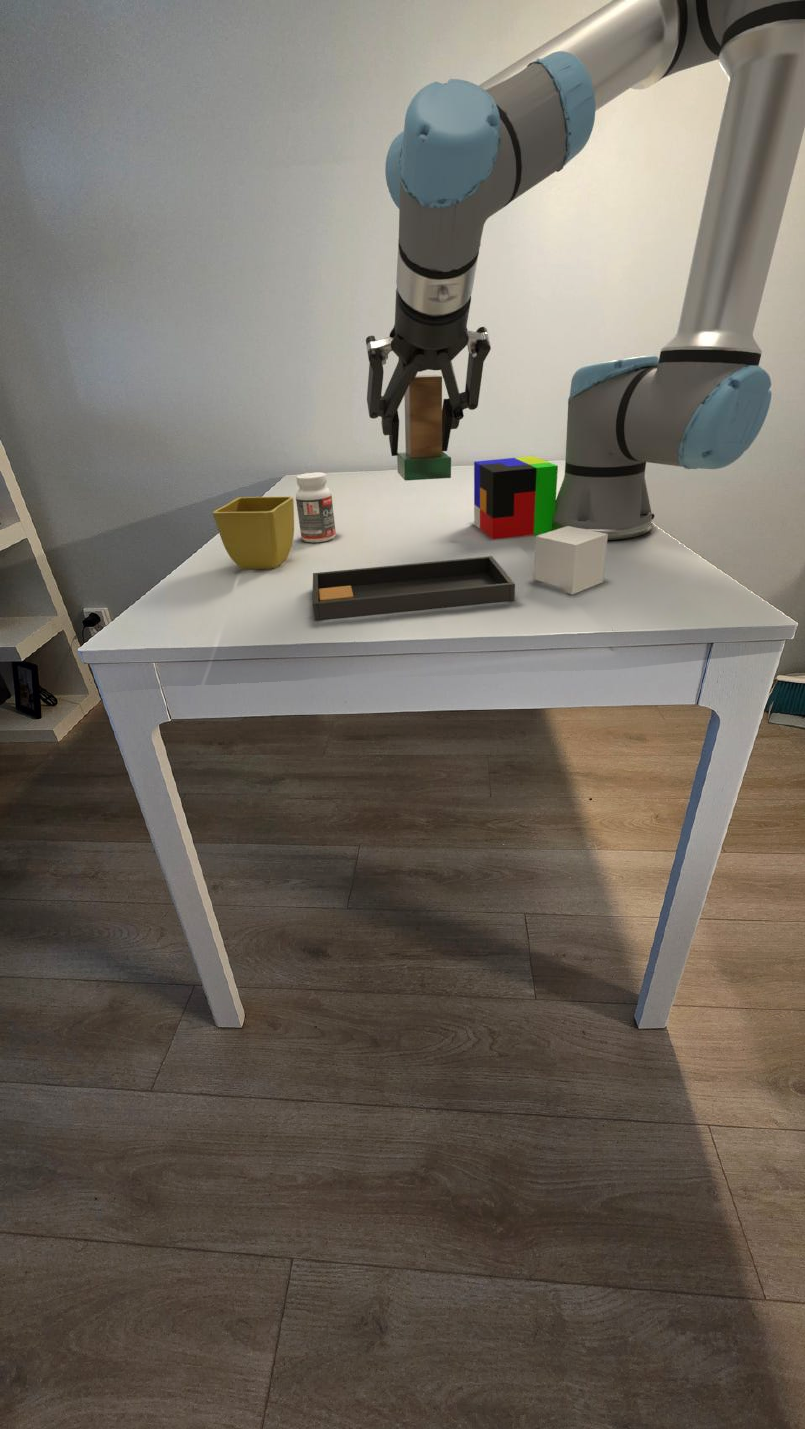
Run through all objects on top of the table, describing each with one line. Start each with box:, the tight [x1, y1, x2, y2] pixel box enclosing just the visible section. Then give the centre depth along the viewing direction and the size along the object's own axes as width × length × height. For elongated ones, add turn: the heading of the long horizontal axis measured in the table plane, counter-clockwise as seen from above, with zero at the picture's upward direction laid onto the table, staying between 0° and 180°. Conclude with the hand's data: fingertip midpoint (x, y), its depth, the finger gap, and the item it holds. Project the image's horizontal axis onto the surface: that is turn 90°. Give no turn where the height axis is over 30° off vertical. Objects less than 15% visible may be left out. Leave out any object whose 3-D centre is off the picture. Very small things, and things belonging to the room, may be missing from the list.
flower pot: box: [212, 496, 295, 570], centre depth 92 cm, size 9×9×9 cm
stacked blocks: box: [396, 374, 452, 482], centre depth 81 cm, size 6×6×12 cm
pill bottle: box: [295, 471, 337, 543], centre depth 103 cm, size 6×6×10 cm
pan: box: [312, 555, 516, 622], centre depth 78 cm, size 23×11×3 cm, turn 97°
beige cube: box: [533, 526, 608, 596], centre depth 79 cm, size 6×6×6 cm
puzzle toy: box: [473, 455, 559, 540], centre depth 102 cm, size 10×10×10 cm
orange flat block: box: [319, 586, 354, 602], centre depth 77 cm, size 4×4×1 cm
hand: (418, 444), depth 85 cm, fingers closed on stacked blocks, 6 cm apart
